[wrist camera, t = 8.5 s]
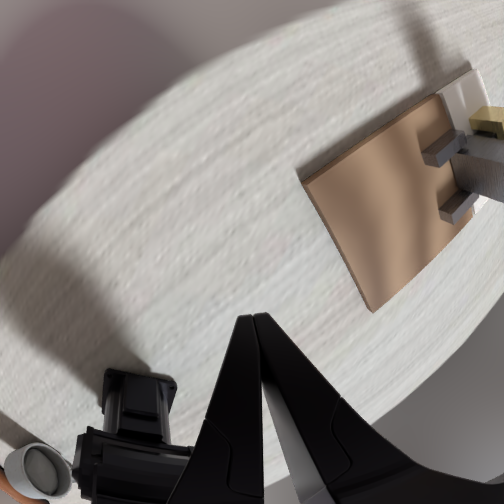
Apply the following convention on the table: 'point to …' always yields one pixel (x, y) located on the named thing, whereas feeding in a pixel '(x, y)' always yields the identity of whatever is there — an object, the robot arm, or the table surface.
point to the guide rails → (437, 158)
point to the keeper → (489, 120)
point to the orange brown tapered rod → (4, 485)
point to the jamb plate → (465, 108)
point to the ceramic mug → (38, 472)
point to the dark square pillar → (481, 165)
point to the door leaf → (388, 202)
